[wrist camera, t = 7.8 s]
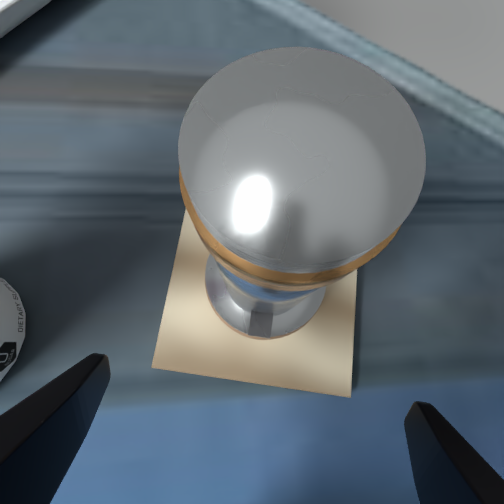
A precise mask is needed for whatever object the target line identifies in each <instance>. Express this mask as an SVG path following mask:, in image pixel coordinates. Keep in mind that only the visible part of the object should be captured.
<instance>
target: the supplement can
mask: <svg viewBox="0 0 504 504" xmlns="http://www.w3.org/2000/svg"><path fill="white" fill-rule="evenodd" d="M25 318H26V313H25V310H24V308H23V305H22V302H21V299H20V297H19V294H18V293H17V292H16V291H15V290H14V289H13V288H12V287H11V286H10V285H9V284H8V283H7V282H6V280H5V279H2V278H0V381H1V380H2V379H3V377H4V376H5V375H6V373H7V372H8V371H9V369H10V368H11V367H12V365H13V364H14V363H15V362H16V360H17V357H18V354H19V351H20V349H21V346H22V343H23V341H24V338H25Z"/></svg>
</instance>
